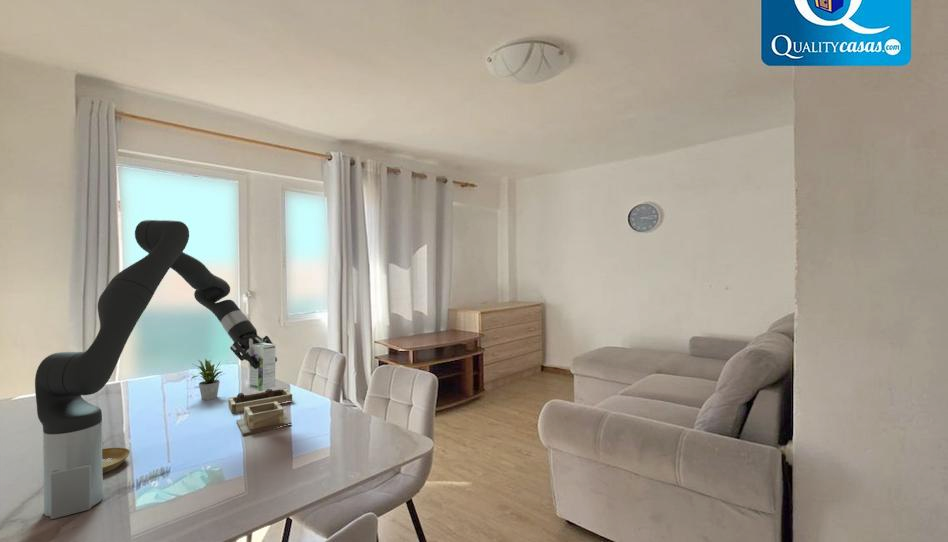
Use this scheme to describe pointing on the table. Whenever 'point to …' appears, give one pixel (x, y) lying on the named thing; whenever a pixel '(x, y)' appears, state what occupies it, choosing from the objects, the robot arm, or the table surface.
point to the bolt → (258, 395)
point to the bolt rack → (257, 401)
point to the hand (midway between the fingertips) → (266, 364)
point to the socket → (262, 418)
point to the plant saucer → (113, 457)
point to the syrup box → (263, 367)
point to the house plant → (208, 380)
